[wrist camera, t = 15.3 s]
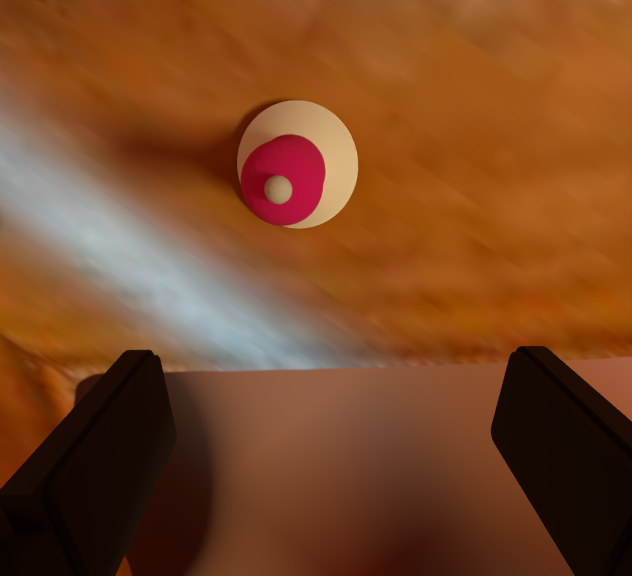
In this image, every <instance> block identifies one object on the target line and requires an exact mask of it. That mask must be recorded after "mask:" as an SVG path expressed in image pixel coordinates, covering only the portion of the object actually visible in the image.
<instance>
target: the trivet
mask: <svg viewBox="0 0 632 576" xmlns="http://www.w3.org/2000/svg"><path fill="white" fill-rule="evenodd" d="M285 134H295V135H300V136H302V137H305V138H307V139H308V140H310V141H311V142H312V143H314V144H315V146H316V147H317V148H318V149H319V151H320V152H321V154H322V156H323V159H324V162H325V168H326V175H325V181H324V184H323V192H322V197H321V199H320V202H319V204H318V206H317V207H316V209H315V210H314V211H313V213H312V214H311V215H310V216H308V217H307V218H306V219H304V220H303V221H301V222H299V223H296V224H293V225H288V226H284V227H289V228H309V227H313V226H317V225H319V224H322V223H324V222H326V221H328V220H329V219H331V218H332V217H334V216H335V215H336V214H337V213H338V212H339V211H340V210H341V209H342V208H343V207H344V206H345V204H346V203H347V201H348V200H349V198H350V196H351V194H352V192H353V190H354V187H355V184H356V179H357V173H358V158H357V151H356V148H355V144H354V141H353V139H352V137H351V135H350V133H349V131H348V129H347V128H346V126H345V125H344V124H343V123H342V121H341V120H340V119H339V118H338V117H337V116H336V115H335V114H333V113H332V112H331V111H329V110H328V109H326V108H324V107H322V106H320V105H318V104H315V103H312V102H307V101H300V100H293V101H285V102H281V103H278V104H275V105H273V106H270V107H269V108H267V109H265V110H264V111H262V112H261V113H260V114H259V115H258V116H256V118H255V119H254V120H253V121H252V122H251V123H250V125H249V126H248V127H247V129H246V131H245V133H244V135H243V137H242V139H241V142H240V145H239V150H238V157H237V170H238V177H239V181H240V180H241V172H242V168H243V165H244V163H245V161H246V159H247V158H248V156H249V155H250V154H251V153H252V151H253V150H255V149H256V148H257V147H258V146H260V145H262V144H264V143H266V142H268V141H271V140H272V139H274V138H276V137H278V136H281V135H285Z"/></svg>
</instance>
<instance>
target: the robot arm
mask: <svg viewBox="0 0 632 576" xmlns="http://www.w3.org/2000/svg"><path fill="white" fill-rule="evenodd" d="M491 436H492V439H493V442H494V444H495V445H496V447H497V449H498V450H499V452H500V453H501V455H502V457H503V458H504V460H505V462H506V463H507V465H508V467H509V468H510V470H511V472H512V473H513V475H514V476H515V478H516V479H517V481H518V483H519V485H520V486H521V488H522V489H523V491H524V493H525V494H526V496H527V498H528V500H529V501H530V503H531V504H532V506H533V508H534V509H535V511H536V512H537V514H538V516H539V517H540V519H541V521H542V523H543V524H544V526H545V527H546V529H547V531H548V532H549V534H550V536H551V537H552V539H553V541H554V542H555V544H556V545H557V547H558V549H559V550H560V552H561V554H562V555H563V557H564V559H565V560H566V562H567V564H568V565H569V567H570V569H571V570H572V572H573V573H574V575H575V576H632V422H631V421H630V420H629V419H628V418H627V417H626V416H625V415H623V414H622V413H621V412H620V411H619V410H617V408H616V407H614V406H613V405H612V404H611V403H610V402H608V401H607V400H606V399H605V398H604V397H603V396H602V395H600V394H599V393H598V392H597V391H596V390H595V389H593V388H592V387H591V386H590V385H589V384H588V383H587V382H586V381H584V380H583V379H582V378H581V377H580V376H579V375H578V374H576V373H575V372H574V371H573V370H572V369H571V368H570V367H568V366H567V365H566V364H565V363H564V362H563V361H562V360H560V359H559V358H558V357H557V356H556V355H555V354H553V353H552V352H551V351H550V350H549V349H548V348H546V347H544V346H521V347H518V348H517V350H516V352H512V353H511V355H510V357H509V361H508V365H507V369H506V372H505V376H504V380H503V384H502V388H501V391H500V396H499V399H498V403H497V407H496V411H495V415H494V418H493V422H492V426H491ZM175 441H176V428H175V424H174V419H173V415H172V410H171V406H170V401H169V397H168V392H167V387H166V383H165V378H164V374H163V369H162V365H161V360H160V358H159V356H157V355H154V354H153V352H152V351H151V350H127V351H125V352H124V353H123V354H122V355H121V356H120V357H119V358H118V359H117V361H116V362H115V363H114V364H113V365H112V366H111V367H110V368H109V369H108V371H107V372H106V373H105V374H104V375H103V376H102V377H101V378H100V380H99V381H98V382H97V383H96V384H95V385H94V386H93V387H92V388H91V389H90V391H89V392H88V393H87V394H86V395H85V396H84V397H83V398H82V399H81V401H80V402H79V403H78V404H77V405H76V406H75V407H74V408H73V409H72V410H71V412H70V413H69V414H68V415H67V416H66V417H65V418H64V419H63V420H62V422H61V423H60V424H59V425H58V426H57V427H56V428H55V429H54V430H53V432H52V433H51V434H50V435H49V436H48V437H47V438H46V439H45V440H44V442H43V443H42V444H41V445H40V446H39V447H38V448H37V449H36V450H35V452H34V453H33V454H32V455H31V456H30V457H29V458H28V459H27V460H26V462H25V463H24V464H23V465H22V466H21V467H20V468H19V469H18V470H17V472H16V473H15V474H14V475H13V476H12V477H11V478H10V479H9V480H8V481H7V483H6V484H5V485H4V486H3V487H2V488H1V489H0V576H115V575H116V573H117V571H118V568H119V566H120V564H121V562H122V560H123V558H124V555H125V553H126V551H127V549H128V546H129V544H130V542H131V540H132V538H133V536H134V533H135V531H136V529H137V527H138V525H139V522H140V520H141V518H142V516H143V513H144V511H145V509H146V507H147V505H148V503H149V500H150V498H151V496H152V494H153V492H154V489H155V487H156V485H157V483H158V481H159V478H160V476H161V474H162V472H163V470H164V467H165V465H166V463H167V461H168V459H169V457H170V454H171V452H172V450H173V448H174V445H175Z"/></svg>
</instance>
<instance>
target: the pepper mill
mask: <svg viewBox="0 0 632 576" xmlns="http://www.w3.org/2000/svg"><path fill="white" fill-rule="evenodd" d="M325 175H326V168H325V162H324V159H323V156H322V154H321V152H320V151H319V149H318V148H317V147H316V146H315V144H314V143H312V142H311V141H310V140H308V139H307V138H305V137H302V136H300V135H295V134H285V135H281V136H278V137H276V138H274V139H272V140H271V141H268V142H266V143H264V144H262V145H260V146H258V147H257V148H256V149H255V150H253V151H252V153H251V154H250V155H249V156H248V158H247V159H246V161H245V163H244V165H243V168H242V172H241V180H240V184H241V191H242V194H243V198H244V200H245V202H246V204H247V206H248V207H249V208H250V210H251V211H252V212H253V213H254V214H255V215H256V216H257V217H258V218H260V219H262V220H263V221H265V222H268V223H270V224H273V225H278V226H288V225H293V224H296V223H299V222H301V221H303V220H304V219H306V218H307V217H308V216H310V215H311V214H312V213H313V211H314V210H315V209H316V207H317V206H318V204H319V202H320V199H321V197H322V192H323V184H324V181H325Z"/></svg>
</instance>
